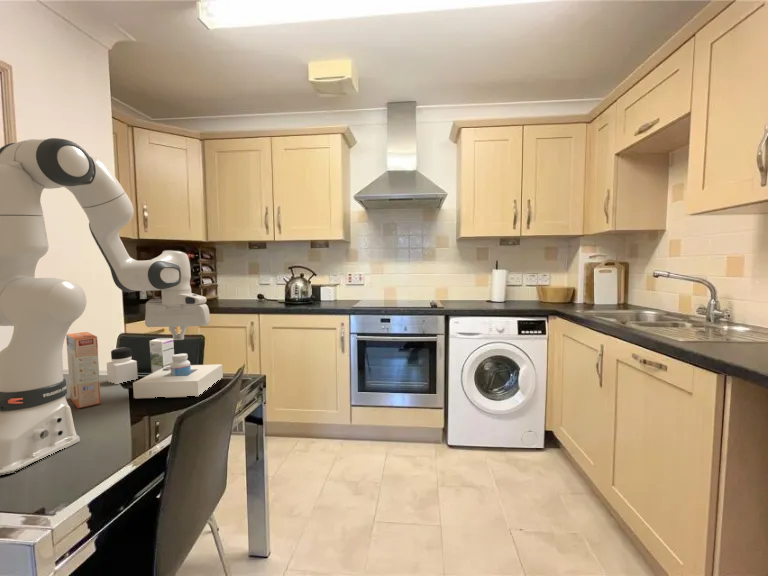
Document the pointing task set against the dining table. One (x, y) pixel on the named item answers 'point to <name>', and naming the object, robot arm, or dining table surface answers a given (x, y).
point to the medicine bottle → (121, 366)
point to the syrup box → (161, 353)
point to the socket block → (178, 382)
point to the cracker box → (83, 369)
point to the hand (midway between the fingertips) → (178, 339)
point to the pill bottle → (180, 365)
